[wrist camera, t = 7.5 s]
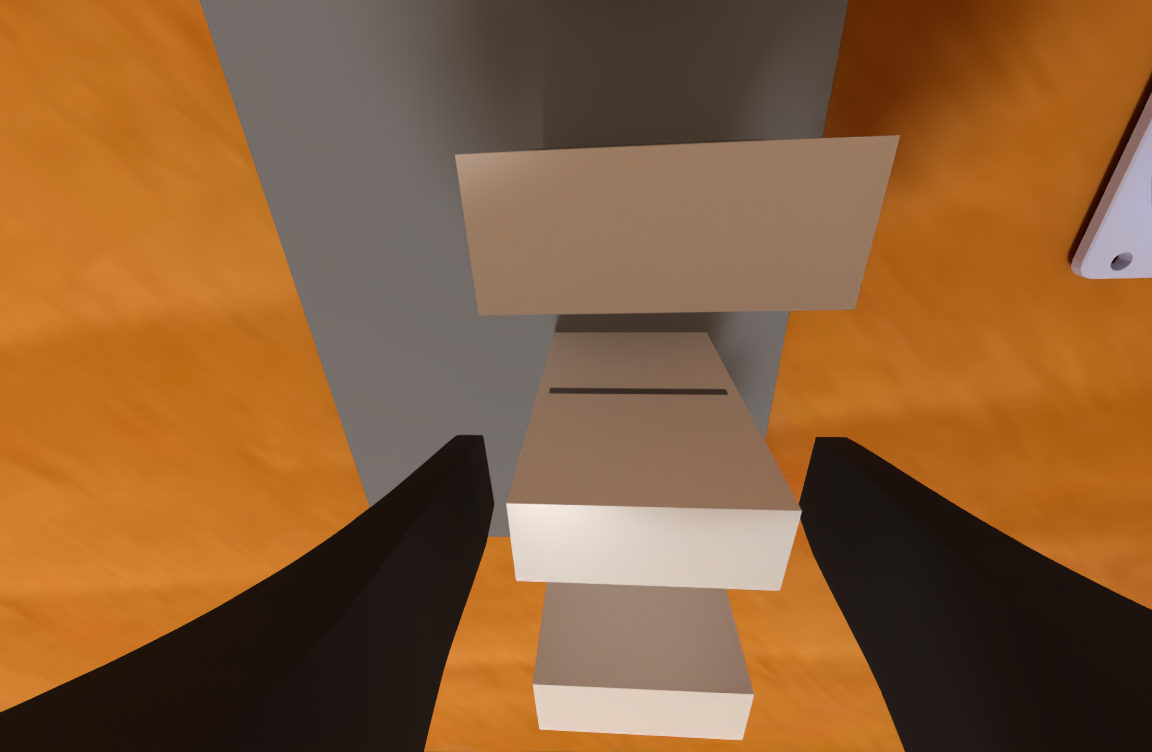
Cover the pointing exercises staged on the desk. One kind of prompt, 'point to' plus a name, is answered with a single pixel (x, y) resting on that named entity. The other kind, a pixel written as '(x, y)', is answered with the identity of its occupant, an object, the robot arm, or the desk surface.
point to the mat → (432, 193)
